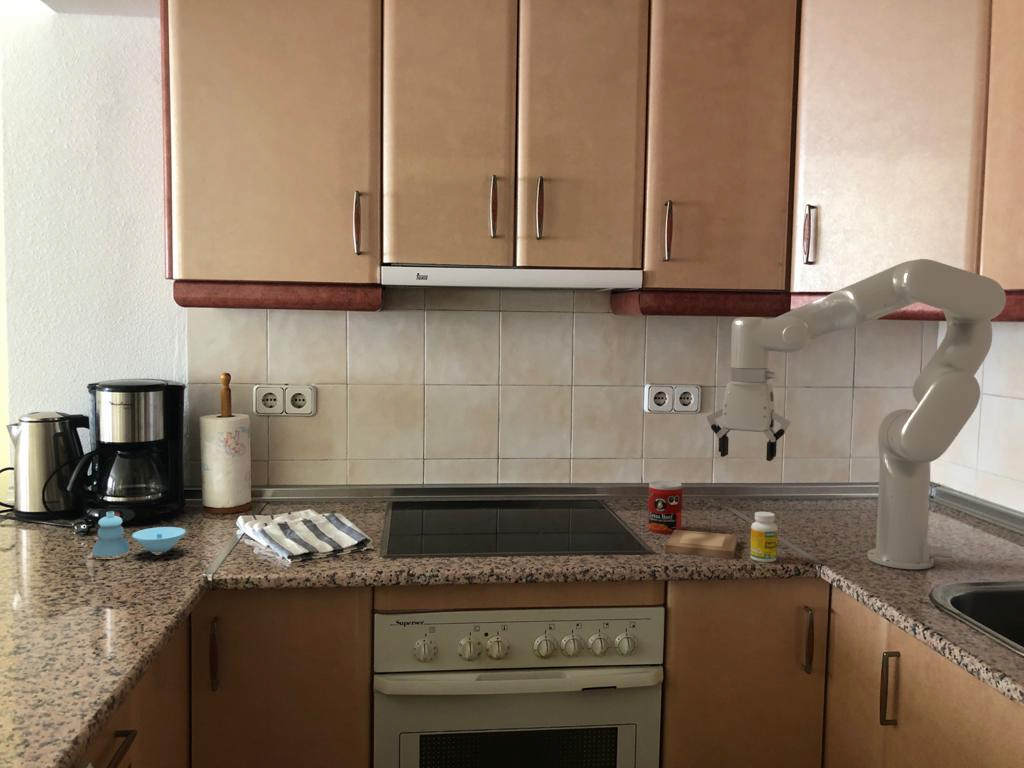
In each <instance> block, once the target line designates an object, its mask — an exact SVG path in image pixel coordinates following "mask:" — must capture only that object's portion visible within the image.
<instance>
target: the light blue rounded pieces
mask: <svg viewBox="0 0 1024 768" xmlns="http://www.w3.org/2000/svg"><path fill="white" fill-rule="evenodd" d="M105 513H106V514H105V515H106V516H103V517H102V518H100V519H99V520H98V525H99V526H100V527H99V528H98V530H97V536H98V537H99V539H98V540H97V541H95V543H94V546H93V548H92V556H93V555H95V556H99V557H106V556H116V555H120V554H124V553H127V552H128V551H129V552H130V544H129V542H128V541H127V539H125V538H124V537H123V534H124V531H125V529H124V527H123V526H122V523H123V518H122V517H120V516H118V515H115V511H107V512H105ZM186 533H187V530H186V529H185V528H183V527H175V526H159V527H157V526H156V527H151V528H145V529H140V530H138V531H135V532H133V533H132V534H131V538H133V539H134V540H135V541H136V542H138V543H139V544H140V545H141V546H143V548H144V549H146V550H147V551H148V552H149V551H150V552H149V553H151V552H157V553H158V552H166V551H168V550H169V551H170V550H171V549H172V548H173V547H174V546H175V545H176V544H177V543H178V542H179V540H180V539H181V538H182V537H183V536H184V535H185V534H186ZM169 551H168V552H169Z"/></svg>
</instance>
